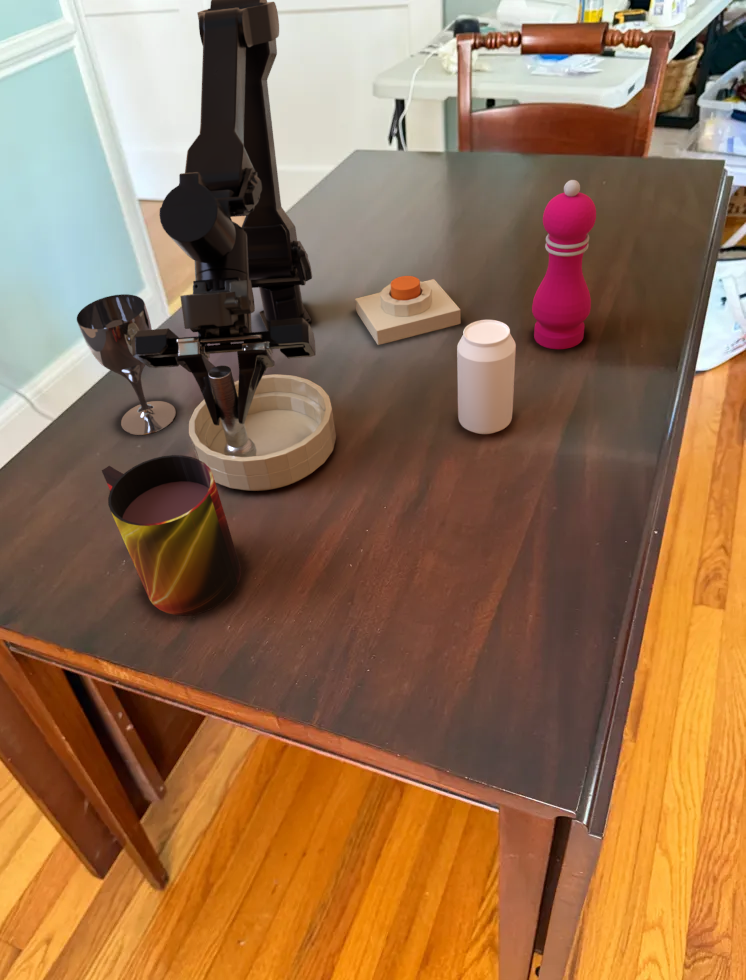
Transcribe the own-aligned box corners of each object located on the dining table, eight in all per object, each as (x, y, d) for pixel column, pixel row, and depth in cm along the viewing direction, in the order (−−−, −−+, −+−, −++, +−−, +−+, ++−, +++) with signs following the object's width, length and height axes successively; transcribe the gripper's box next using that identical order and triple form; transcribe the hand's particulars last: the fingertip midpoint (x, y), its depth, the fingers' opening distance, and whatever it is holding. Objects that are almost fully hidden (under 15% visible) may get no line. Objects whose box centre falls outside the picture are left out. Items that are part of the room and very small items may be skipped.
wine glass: (189, 402, 102) (157, 296, 91) (160, 440, 96) (122, 331, 86) (137, 396, 104) (99, 292, 93) (106, 433, 99) (62, 326, 88)
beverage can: (507, 441, 88) (511, 348, 80) (453, 436, 90) (451, 345, 82) (515, 409, 92) (520, 317, 84) (463, 405, 94) (462, 315, 86)
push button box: (356, 312, 113) (353, 286, 110) (434, 292, 115) (433, 267, 112) (378, 345, 106) (375, 318, 103) (460, 324, 108) (460, 297, 105)
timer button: (387, 291, 109) (386, 279, 108) (414, 284, 109) (413, 273, 108) (396, 304, 106) (396, 292, 105) (424, 297, 107) (424, 285, 105)
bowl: (189, 429, 97) (179, 395, 94) (317, 395, 99) (311, 361, 96) (210, 511, 86) (199, 476, 82) (354, 471, 88) (349, 436, 84)
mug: (134, 535, 84) (97, 448, 76) (253, 549, 81) (229, 458, 72) (93, 603, 78) (47, 515, 70) (220, 621, 74) (188, 531, 66)
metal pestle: (240, 451, 91) (216, 359, 82) (265, 458, 89) (243, 365, 81) (221, 469, 89) (195, 377, 80) (247, 477, 87) (222, 384, 79)
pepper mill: (587, 352, 99) (607, 192, 85) (529, 351, 101) (538, 194, 87) (586, 322, 104) (605, 166, 90) (531, 322, 106) (540, 169, 92)
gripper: (108, 258, 76) (115, 417, 76) (296, 241, 75) (304, 404, 74) (147, 295, 88) (153, 434, 87) (312, 281, 86) (319, 423, 85)
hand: (228, 424), depth 83 cm, fingers closed on metal pestle, 2 cm apart
